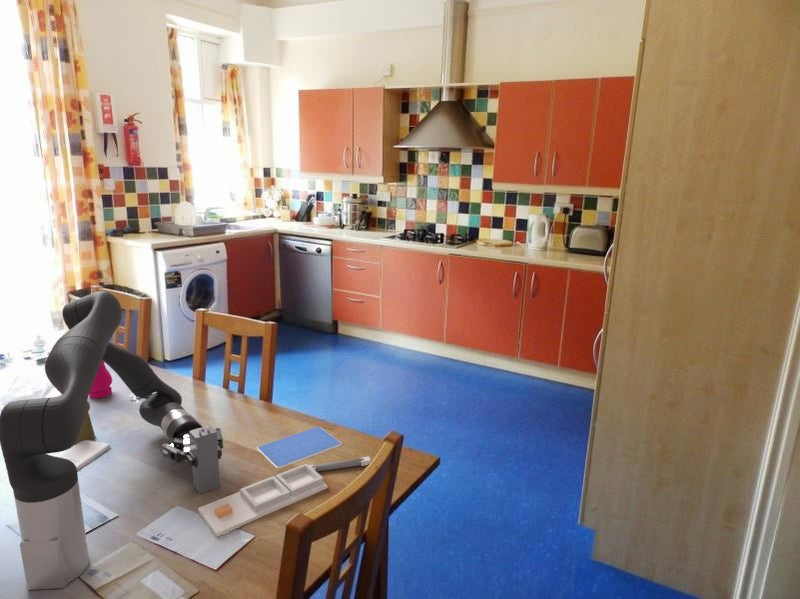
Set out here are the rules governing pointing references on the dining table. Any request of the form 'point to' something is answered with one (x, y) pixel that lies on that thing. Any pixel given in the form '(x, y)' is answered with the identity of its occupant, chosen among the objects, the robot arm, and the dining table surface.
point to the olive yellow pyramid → (86, 428)
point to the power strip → (261, 499)
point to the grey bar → (341, 464)
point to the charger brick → (205, 459)
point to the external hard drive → (84, 452)
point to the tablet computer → (298, 447)
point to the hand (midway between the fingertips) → (207, 459)
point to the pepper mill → (101, 383)
